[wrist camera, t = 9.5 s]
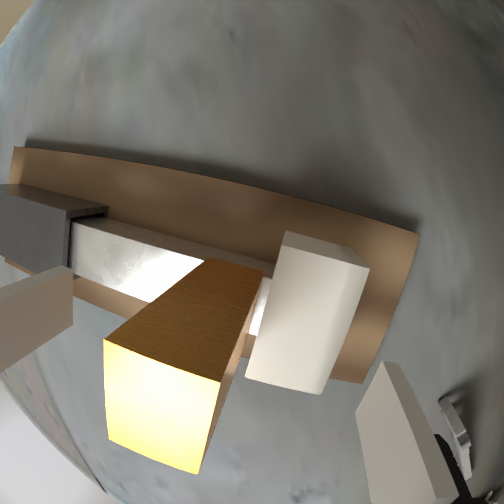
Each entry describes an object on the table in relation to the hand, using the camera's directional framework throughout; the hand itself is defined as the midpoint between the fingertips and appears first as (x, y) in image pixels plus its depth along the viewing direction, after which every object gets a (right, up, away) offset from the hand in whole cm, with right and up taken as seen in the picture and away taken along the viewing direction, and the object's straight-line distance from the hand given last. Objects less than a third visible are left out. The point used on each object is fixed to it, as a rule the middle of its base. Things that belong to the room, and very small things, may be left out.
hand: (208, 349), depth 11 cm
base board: (-6, +4, +11) cm, 13 cm away
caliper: (+25, -18, +12) cm, 33 cm away
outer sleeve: (-15, +6, +11) cm, 20 cm away
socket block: (+5, +1, +9) cm, 10 cm away
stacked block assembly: (-5, +3, +9) cm, 11 cm away
